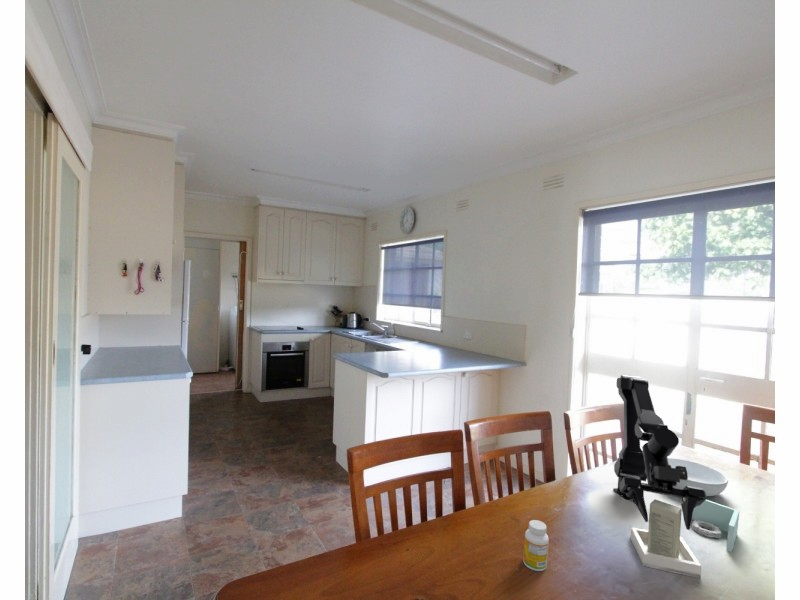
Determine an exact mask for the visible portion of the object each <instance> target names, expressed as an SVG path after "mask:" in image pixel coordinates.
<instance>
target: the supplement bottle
mask: <svg viewBox="0 0 800 600" xmlns="http://www.w3.org/2000/svg"><path fill="white" fill-rule="evenodd" d="M549 540H550V539H549V535H548V534H547V524H546V523H544V522H543V521H541V520H537V519H532V520H530V521H529V522H528V528H527V530H525V533H524V543H523V544H524V545H523V554H522V555H523V556H522V561H523V563H524V565H525V566H526V568H528V569H530V570H532V571H535V572H542V571H545V570H546V569H547V567H548V553H549V542H550V541H549Z"/></svg>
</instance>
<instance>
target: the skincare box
mask: <svg viewBox="0 0 800 600" xmlns="http://www.w3.org/2000/svg"><path fill="white" fill-rule="evenodd" d="M648 513H649V514H648V547H647V550H648V551H650V552H652V553H654V554H657V555H662V556H667V557H672V558H678V556H679V547H680V537H681V530H682V513H683V512H682V507H679V506H675V505H672V504H670V503H667V502H665V501H662V500H658V499H655V498H654V500H652V501H651V502H650V503H649V512H648Z"/></svg>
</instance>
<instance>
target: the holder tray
mask: <svg viewBox="0 0 800 600" xmlns="http://www.w3.org/2000/svg"><path fill="white" fill-rule="evenodd" d="M629 535H630V536H629V537H630V538H629V539H630V540H631V542H632V544H633V546H634V549H635V551H636V554H637V555H638V557H639V559H640V562H641V563H642V566H643V567H647V568H652V569H656V570H659V571H660V570H661V571H665V572H669V573H674V574H679V575H683V576H688V577H692V578H697V579H701V578H702V577H701V576H702V567H703V566H702V564H701V563H700V561H699V560H698V558H697V557H696V556H695V554H694V553H693V551H692V549H690V547H689V545H688V543H687V542H686V541H685V540H684V538H683V537H682V536H680V547H679V556H678V558H672V557H667V556H662V555H657V554H654V553H652V552H650V551H648V550H647V547H648V530H647V529H644V528H643V529H642V528H638V527H630V534H629Z"/></svg>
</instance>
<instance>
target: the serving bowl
mask: <svg viewBox="0 0 800 600" xmlns="http://www.w3.org/2000/svg"><path fill="white" fill-rule="evenodd" d="M667 458H668V463H669V465H671V468H676V466H683V467H686V470H687V475H688V479H687V480H681V479H680V483H679V482H677V485H676V486H673V488H676V489H682V490H683V489H684V487H685V486H686V485H687V486H693V487H699V488H702V489H703V490H704V491H705V493H706V497H713V496H718V495H720V494H721V493H723V492H724V491H725V490H726V488H727V486H728V483H729V478H728V477H727V476H726V475H725V474H723V473H722V472H721V471H719V470H717V469H715V468H713V467H710V466H709V465H708V466H707V465H705V464H703V463H699V462H695V461H693V460H692V461H691V460H688V459H687V460H686V459H681V458H676V457H675V458H674V457H667Z"/></svg>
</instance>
